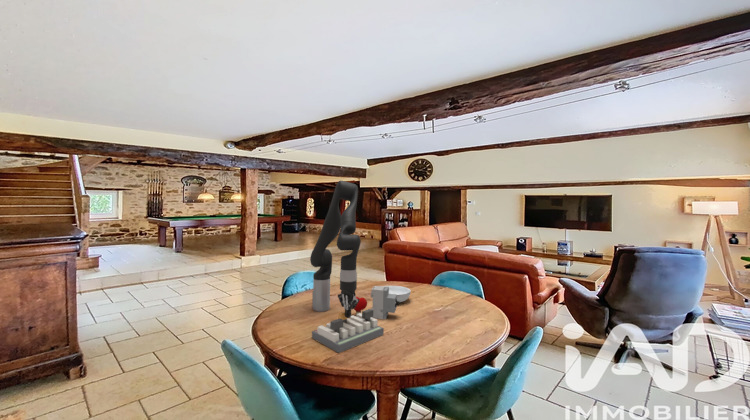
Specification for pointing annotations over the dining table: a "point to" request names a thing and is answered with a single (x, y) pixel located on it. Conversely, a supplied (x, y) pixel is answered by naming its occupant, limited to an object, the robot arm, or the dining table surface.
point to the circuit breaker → (383, 302)
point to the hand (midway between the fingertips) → (347, 317)
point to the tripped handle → (342, 316)
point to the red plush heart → (360, 305)
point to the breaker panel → (350, 343)
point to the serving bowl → (400, 292)
